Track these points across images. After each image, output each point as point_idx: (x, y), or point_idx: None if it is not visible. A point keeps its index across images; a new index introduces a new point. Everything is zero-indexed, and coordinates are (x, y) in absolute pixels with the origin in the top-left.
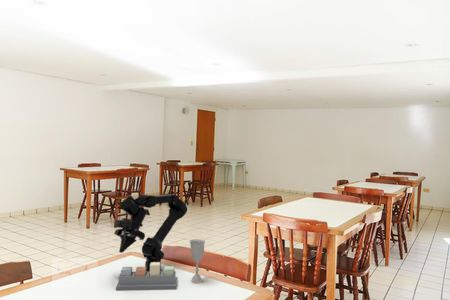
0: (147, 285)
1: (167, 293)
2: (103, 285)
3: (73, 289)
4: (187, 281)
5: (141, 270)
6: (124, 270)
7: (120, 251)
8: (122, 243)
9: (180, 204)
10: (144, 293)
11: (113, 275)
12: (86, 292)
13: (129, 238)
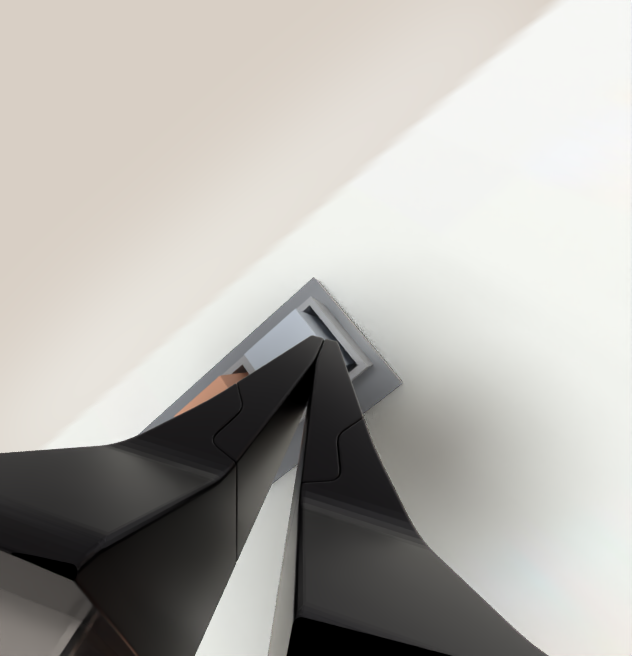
0: (203, 389)
1: (125, 401)
2: (432, 279)
3: (527, 131)
4: None
5: (193, 400)
6: (278, 324)
7: (309, 340)
8: (275, 404)
9: None
10: (194, 343)
11: (537, 430)
12: (422, 165)
13: (56, 566)
